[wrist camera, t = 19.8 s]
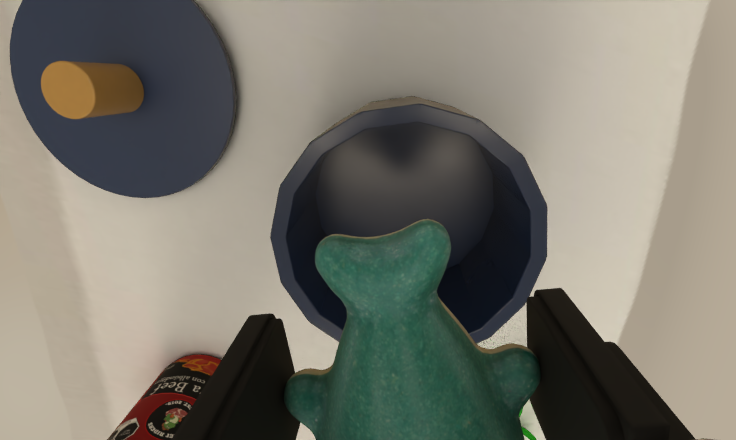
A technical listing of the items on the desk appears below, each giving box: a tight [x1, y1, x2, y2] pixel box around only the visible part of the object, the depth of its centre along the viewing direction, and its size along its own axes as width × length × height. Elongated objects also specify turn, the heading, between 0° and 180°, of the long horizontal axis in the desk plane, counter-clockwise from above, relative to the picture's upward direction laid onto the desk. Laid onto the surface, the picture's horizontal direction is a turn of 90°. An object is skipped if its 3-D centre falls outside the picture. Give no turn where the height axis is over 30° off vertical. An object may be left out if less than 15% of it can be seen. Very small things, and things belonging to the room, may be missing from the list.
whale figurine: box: [284, 219, 541, 440], centre depth 8 cm, size 6×7×4 cm
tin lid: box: [10, 0, 236, 198], centre depth 24 cm, size 15×15×6 cm
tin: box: [270, 96, 547, 344], centre depth 24 cm, size 14×14×8 cm
